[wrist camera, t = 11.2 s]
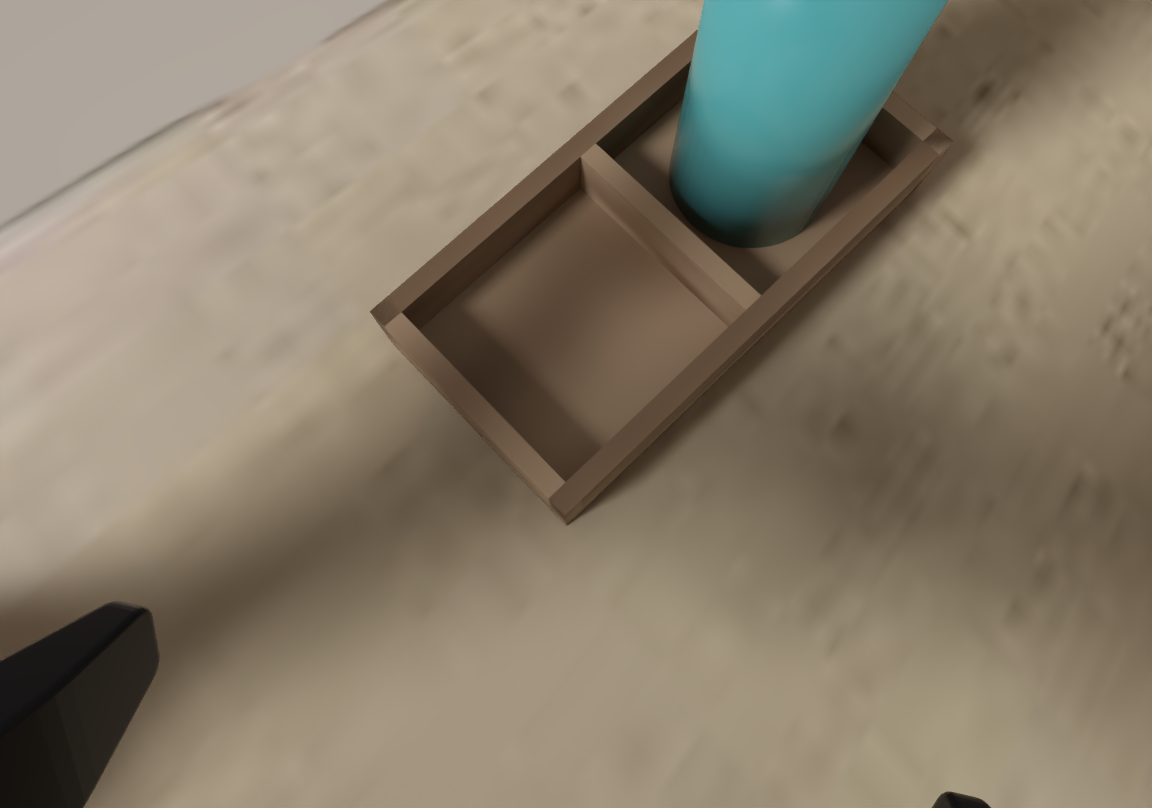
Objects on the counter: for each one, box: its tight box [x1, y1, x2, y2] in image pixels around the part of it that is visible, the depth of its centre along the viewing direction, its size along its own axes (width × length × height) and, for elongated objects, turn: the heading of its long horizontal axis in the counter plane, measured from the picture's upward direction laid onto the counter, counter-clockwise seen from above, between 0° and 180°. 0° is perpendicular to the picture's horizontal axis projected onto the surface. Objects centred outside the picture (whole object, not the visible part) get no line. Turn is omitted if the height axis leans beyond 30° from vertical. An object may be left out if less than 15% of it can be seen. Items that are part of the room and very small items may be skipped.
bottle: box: [669, 0, 948, 248], centre depth 18 cm, size 5×5×14 cm
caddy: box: [370, 30, 953, 525], centre depth 24 cm, size 8×15×3 cm, turn 134°
